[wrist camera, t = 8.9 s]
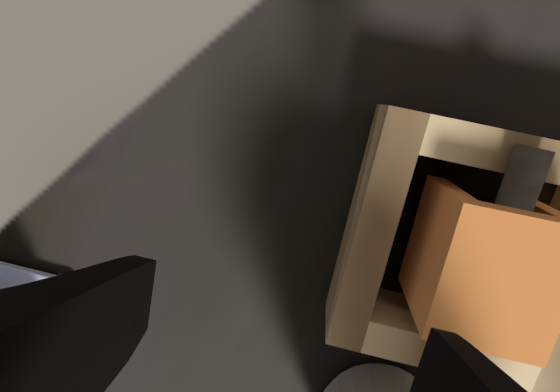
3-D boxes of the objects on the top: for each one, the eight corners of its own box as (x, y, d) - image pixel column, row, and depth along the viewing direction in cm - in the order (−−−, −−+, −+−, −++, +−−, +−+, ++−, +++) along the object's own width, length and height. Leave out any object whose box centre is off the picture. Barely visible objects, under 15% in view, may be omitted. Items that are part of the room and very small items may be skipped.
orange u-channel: (398, 277, 19) (420, 338, 14) (427, 174, 17) (464, 202, 13) (489, 298, 18) (545, 368, 14) (525, 194, 17) (601, 231, 12)
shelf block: (325, 303, 20) (325, 362, 16) (377, 104, 18) (394, 105, 13) (526, 351, 19) (586, 427, 15) (608, 152, 17) (711, 171, 12)
